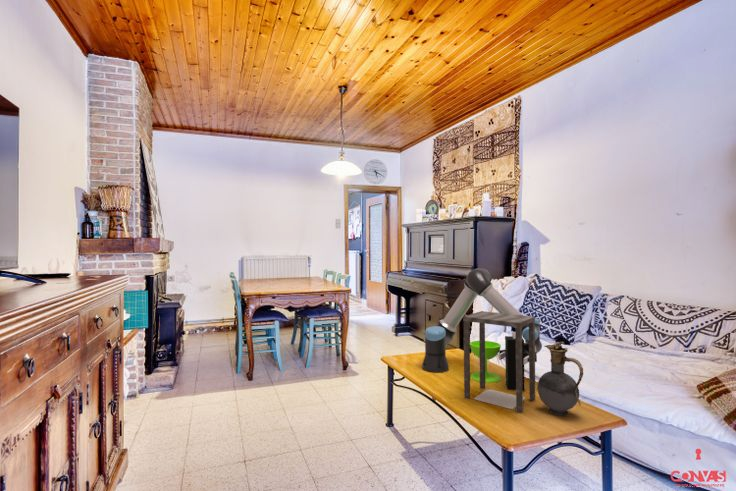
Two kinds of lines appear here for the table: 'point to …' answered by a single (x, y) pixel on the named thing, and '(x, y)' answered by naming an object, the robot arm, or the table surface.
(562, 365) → the pitcher
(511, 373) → the tissue box
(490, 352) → the wineglass
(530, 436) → the table surface
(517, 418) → the table surface
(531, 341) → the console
